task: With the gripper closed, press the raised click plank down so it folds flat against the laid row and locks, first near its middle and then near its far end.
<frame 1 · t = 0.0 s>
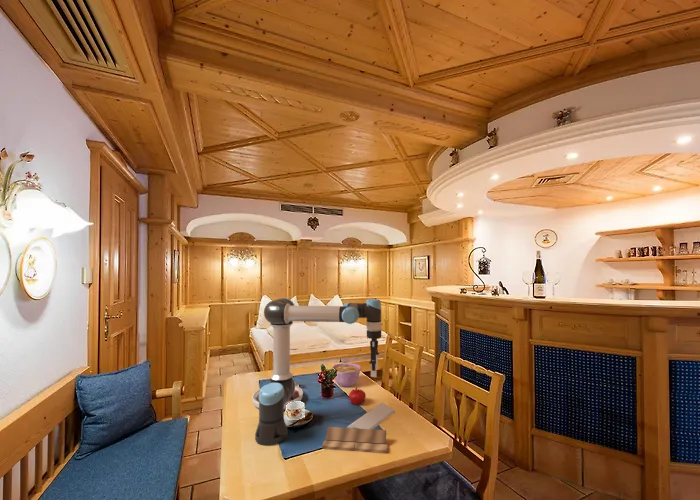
hand: (374, 372, 160), 28 cm above the table, fingers open, 13 cm apart
bowl: (277, 402, 191), on the table
pomegranate: (357, 403, 189), on the table
crown molding: (371, 420, 168), on the table
bowl of food: (346, 384, 217), on the table
laid row: (354, 448, 142), on the table
plank: (356, 435, 147), point 3 cm above the table, hinge at 35.0°
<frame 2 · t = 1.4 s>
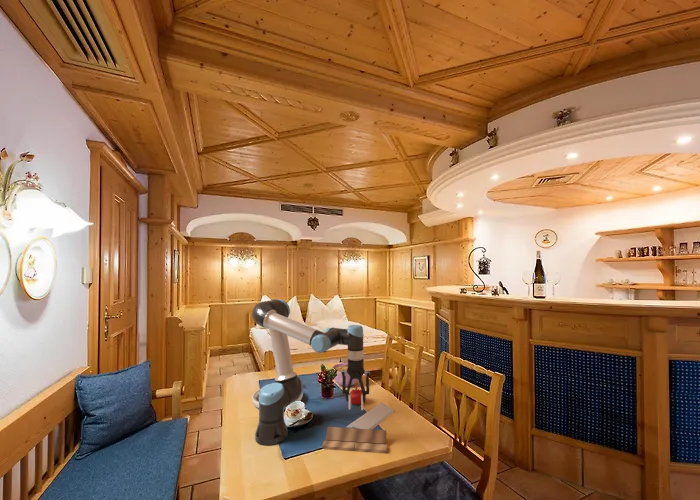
hand: (356, 408, 149), 15 cm above the table, fingers open, 5 cm apart
nothing on the table moved.
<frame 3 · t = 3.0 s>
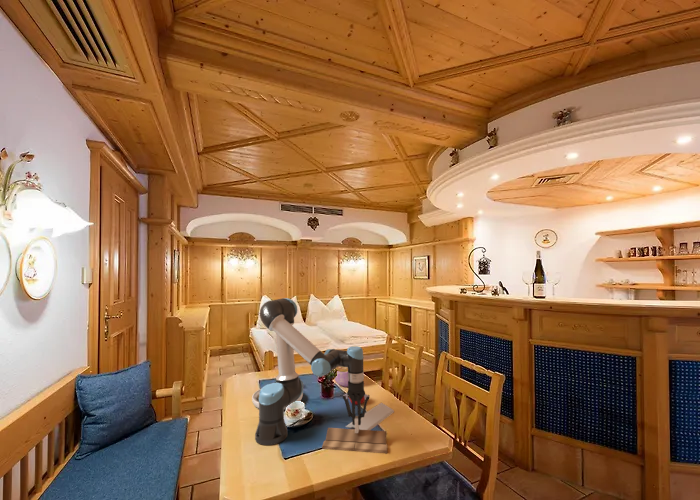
hand: (356, 431, 148), 4 cm above the table, fingers closed
plank: (356, 436, 148), point 2 cm above the table, hinge at 28.3°, touching gripper
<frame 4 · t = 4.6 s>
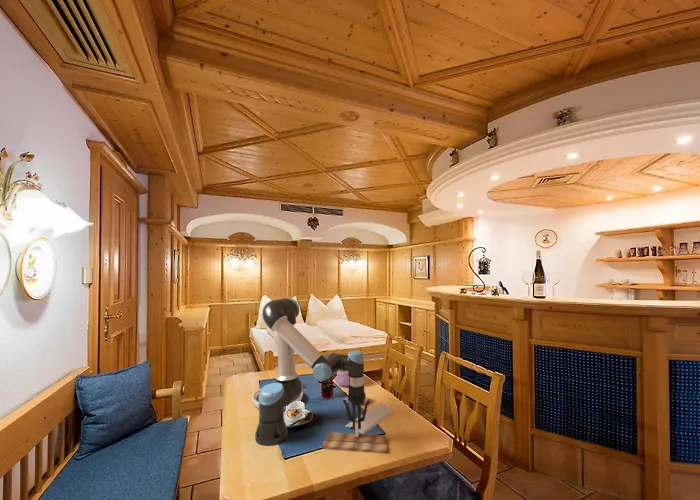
hand: (357, 435, 149), 2 cm above the table, fingers closed
plank: (356, 438, 148), point 1 cm above the table, hinge at 5.1°, touching gripper
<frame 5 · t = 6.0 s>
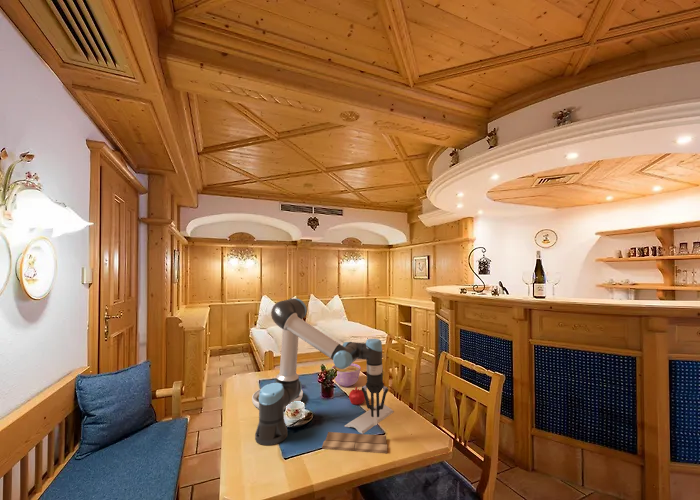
hand: (375, 423, 148), 8 cm above the table, fingers closed
plank: (356, 438, 148), point 1 cm above the table, hinge at 4.9°
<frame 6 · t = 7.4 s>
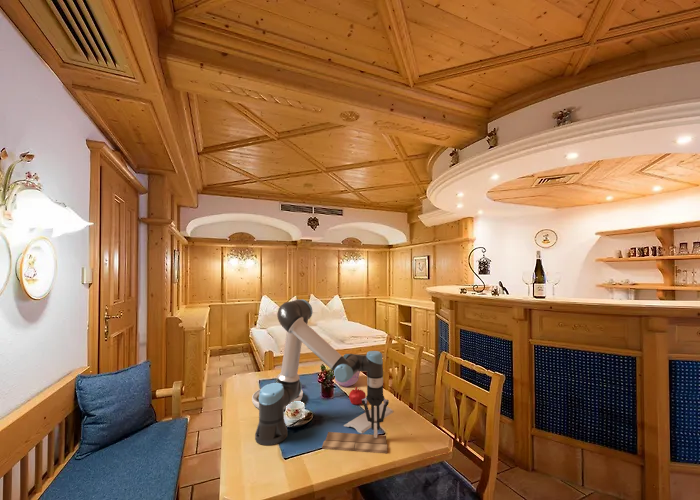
hand: (375, 436, 148), 2 cm above the table, fingers closed
plank: (356, 438, 148), point 1 cm above the table, hinge at 4.9°, touching gripper
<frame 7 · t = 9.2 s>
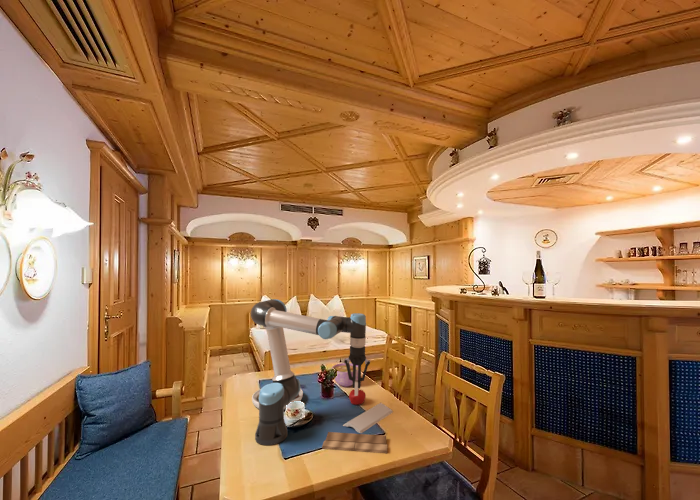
hand: (356, 394, 153), 19 cm above the table, fingers closed
plank: (356, 438, 148), point 1 cm above the table, hinge at 4.9°
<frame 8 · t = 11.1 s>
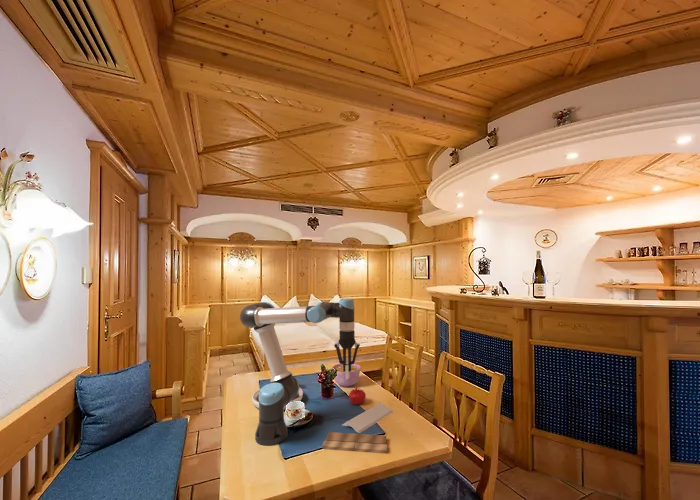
hand: (347, 377, 156), 26 cm above the table, fingers closed
at the end: plank at +5° (first picture: +35°); the gripper is holding nothing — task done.
